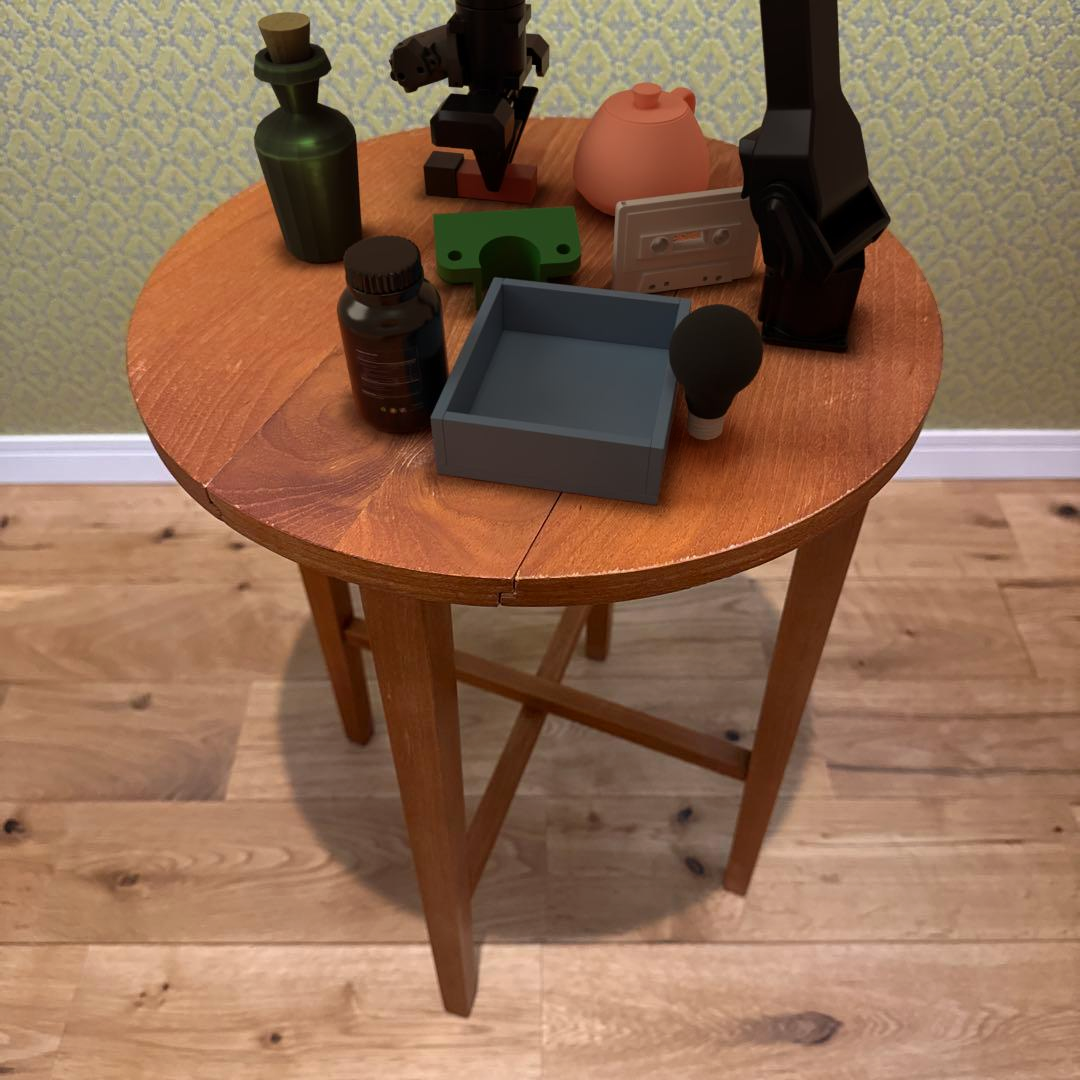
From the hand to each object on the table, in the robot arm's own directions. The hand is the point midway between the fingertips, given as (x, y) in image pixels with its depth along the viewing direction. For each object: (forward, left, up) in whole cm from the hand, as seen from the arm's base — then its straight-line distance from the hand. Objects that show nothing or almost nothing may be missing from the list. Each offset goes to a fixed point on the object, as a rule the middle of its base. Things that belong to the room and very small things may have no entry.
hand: (497, 182), depth 90 cm
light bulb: (-22, +31, -1) cm, 38 cm away
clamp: (-5, +16, -1) cm, 17 cm away
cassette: (-18, +12, -1) cm, 22 cm away
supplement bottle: (-1, +32, -1) cm, 32 cm away
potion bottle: (+13, +12, -1) cm, 17 cm away
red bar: (+2, 0, -1) cm, 2 cm away
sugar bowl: (-13, -2, -1) cm, 14 cm away
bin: (-12, +30, -1) cm, 33 cm away
